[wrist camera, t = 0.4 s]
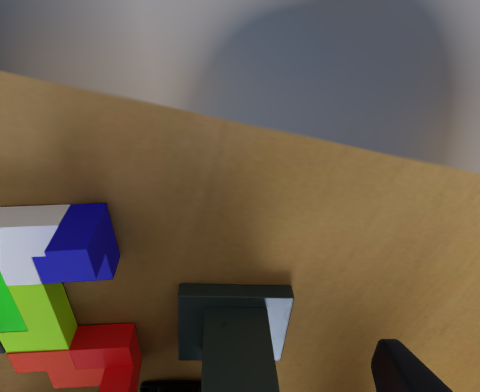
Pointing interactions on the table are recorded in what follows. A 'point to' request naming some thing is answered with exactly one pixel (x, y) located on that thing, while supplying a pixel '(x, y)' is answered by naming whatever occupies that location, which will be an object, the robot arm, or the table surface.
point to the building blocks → (61, 297)
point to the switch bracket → (234, 334)
